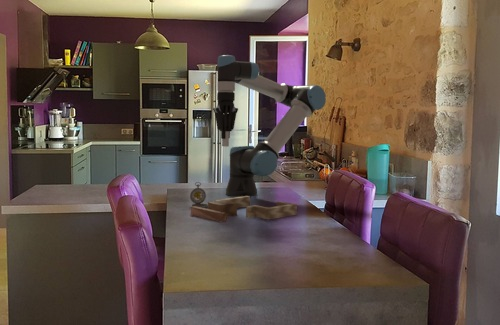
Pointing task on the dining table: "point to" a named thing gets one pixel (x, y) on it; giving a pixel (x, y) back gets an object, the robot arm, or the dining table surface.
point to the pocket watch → (198, 196)
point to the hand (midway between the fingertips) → (225, 146)
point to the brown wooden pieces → (248, 210)
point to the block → (224, 207)
